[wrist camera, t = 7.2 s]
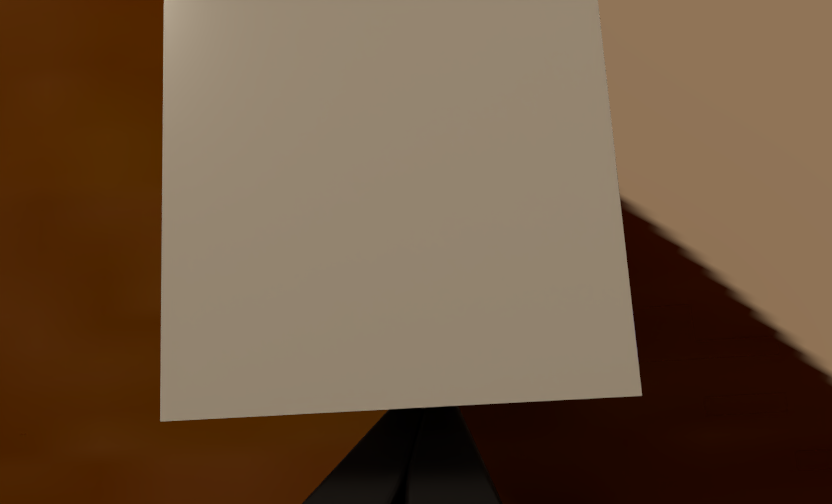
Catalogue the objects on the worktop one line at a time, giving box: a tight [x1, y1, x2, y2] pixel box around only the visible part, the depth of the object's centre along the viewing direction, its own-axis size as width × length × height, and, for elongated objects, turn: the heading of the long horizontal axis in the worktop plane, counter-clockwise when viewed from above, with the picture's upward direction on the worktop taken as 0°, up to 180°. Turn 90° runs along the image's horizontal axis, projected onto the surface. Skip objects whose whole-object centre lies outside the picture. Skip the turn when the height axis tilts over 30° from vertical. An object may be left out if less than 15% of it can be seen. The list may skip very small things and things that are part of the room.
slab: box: [160, 0, 642, 421], centre depth 11 cm, size 6×5×6 cm
